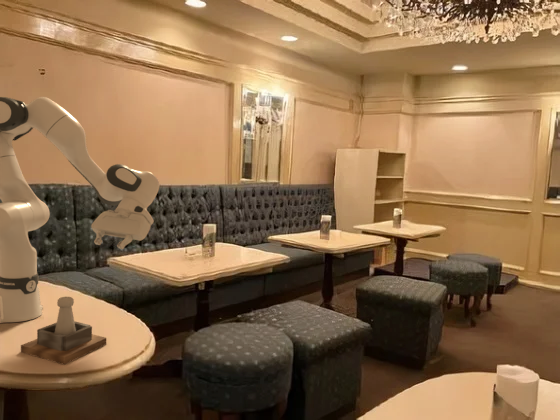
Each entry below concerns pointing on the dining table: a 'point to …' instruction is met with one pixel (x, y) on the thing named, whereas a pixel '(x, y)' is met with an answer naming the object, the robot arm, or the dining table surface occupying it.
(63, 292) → the dining table surface
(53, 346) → the walnut socket board
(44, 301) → the dining table surface
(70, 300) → the beige round peg
